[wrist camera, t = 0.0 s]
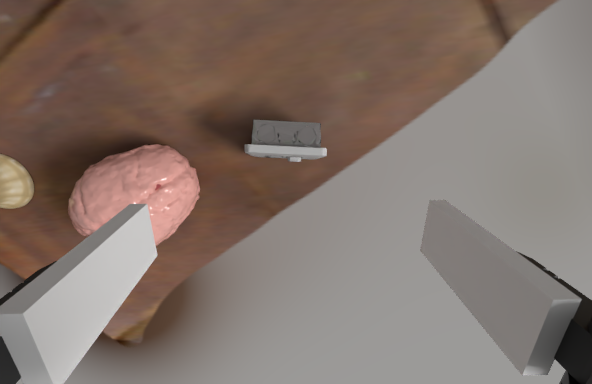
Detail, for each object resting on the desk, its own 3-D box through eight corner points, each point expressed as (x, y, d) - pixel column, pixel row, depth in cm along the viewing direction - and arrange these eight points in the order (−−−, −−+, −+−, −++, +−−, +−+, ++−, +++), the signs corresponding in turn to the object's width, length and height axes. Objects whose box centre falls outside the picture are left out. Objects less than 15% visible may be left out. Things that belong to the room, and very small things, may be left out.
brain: (166, 128, 43) (163, 120, 32) (214, 197, 47) (226, 212, 36) (59, 185, 39) (13, 200, 28) (121, 256, 43) (102, 293, 32)
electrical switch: (251, 155, 41) (243, 167, 32) (252, 118, 39) (243, 119, 30) (317, 158, 41) (326, 171, 32) (319, 121, 40) (330, 124, 31)
